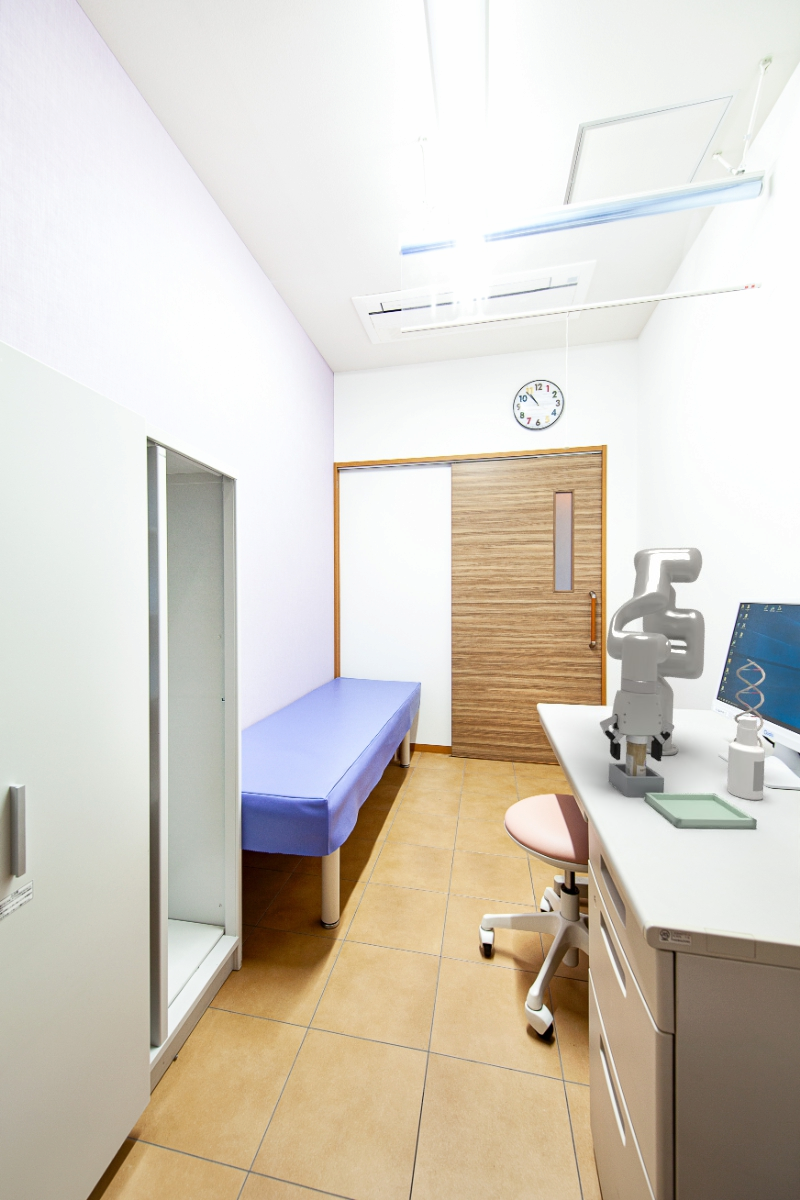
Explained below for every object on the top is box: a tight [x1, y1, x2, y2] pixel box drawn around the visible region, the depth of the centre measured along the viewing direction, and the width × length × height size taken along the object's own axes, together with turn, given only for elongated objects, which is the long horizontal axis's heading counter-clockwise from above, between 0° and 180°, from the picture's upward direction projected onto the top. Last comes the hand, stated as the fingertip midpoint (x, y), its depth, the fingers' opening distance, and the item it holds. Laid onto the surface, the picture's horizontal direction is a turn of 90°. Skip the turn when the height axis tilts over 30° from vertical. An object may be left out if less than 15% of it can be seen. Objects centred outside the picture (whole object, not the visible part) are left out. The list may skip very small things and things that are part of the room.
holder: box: [608, 762, 665, 798], centre depth 111 cm, size 9×9×4 cm
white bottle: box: [726, 715, 766, 801], centre depth 109 cm, size 7×7×18 cm
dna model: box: [733, 658, 766, 748], centre depth 120 cm, size 7×6×30 cm
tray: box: [644, 792, 758, 830], centre depth 99 cm, size 12×16×2 cm
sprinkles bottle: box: [625, 735, 648, 776], centre depth 110 cm, size 5×5×13 cm
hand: (635, 758), depth 110 cm, fingers open, 9 cm apart
